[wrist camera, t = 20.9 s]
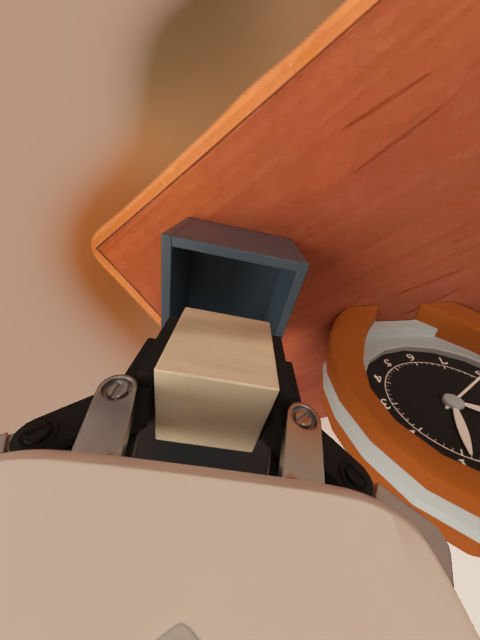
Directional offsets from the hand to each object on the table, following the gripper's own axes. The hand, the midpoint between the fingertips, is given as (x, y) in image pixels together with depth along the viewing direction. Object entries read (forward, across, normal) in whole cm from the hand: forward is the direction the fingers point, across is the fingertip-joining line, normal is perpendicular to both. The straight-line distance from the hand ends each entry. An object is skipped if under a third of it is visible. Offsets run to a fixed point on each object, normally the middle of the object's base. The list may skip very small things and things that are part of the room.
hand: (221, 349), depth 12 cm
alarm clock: (+17, -23, +6) cm, 29 cm away
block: (0, 0, 0) cm, 0 cm away
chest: (+17, 0, +3) cm, 17 cm away
